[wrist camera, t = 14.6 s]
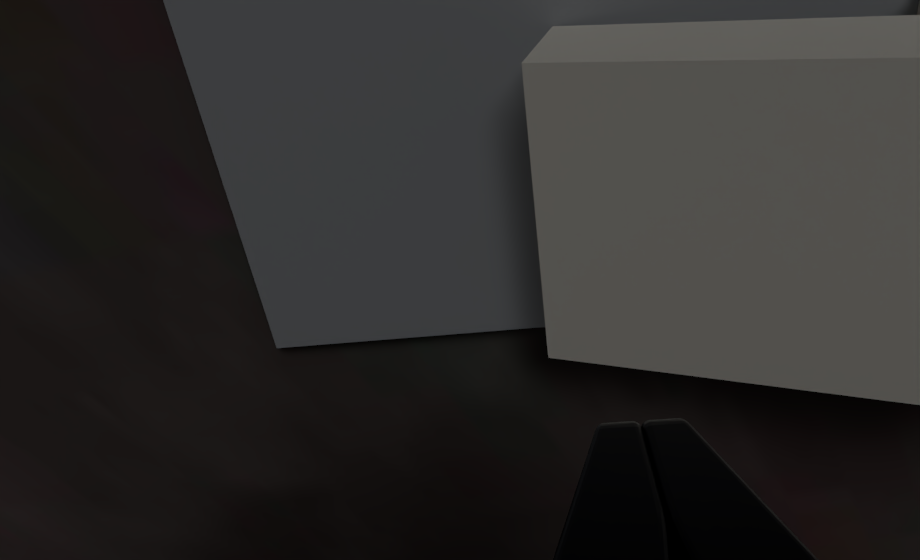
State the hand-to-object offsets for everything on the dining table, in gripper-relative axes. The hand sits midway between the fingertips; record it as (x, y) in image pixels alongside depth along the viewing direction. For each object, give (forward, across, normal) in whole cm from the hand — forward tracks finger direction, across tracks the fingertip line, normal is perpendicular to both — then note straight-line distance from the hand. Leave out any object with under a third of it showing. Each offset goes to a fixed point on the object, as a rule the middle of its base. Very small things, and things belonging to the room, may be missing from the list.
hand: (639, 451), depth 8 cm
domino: (+5, +1, 0) cm, 5 cm away
